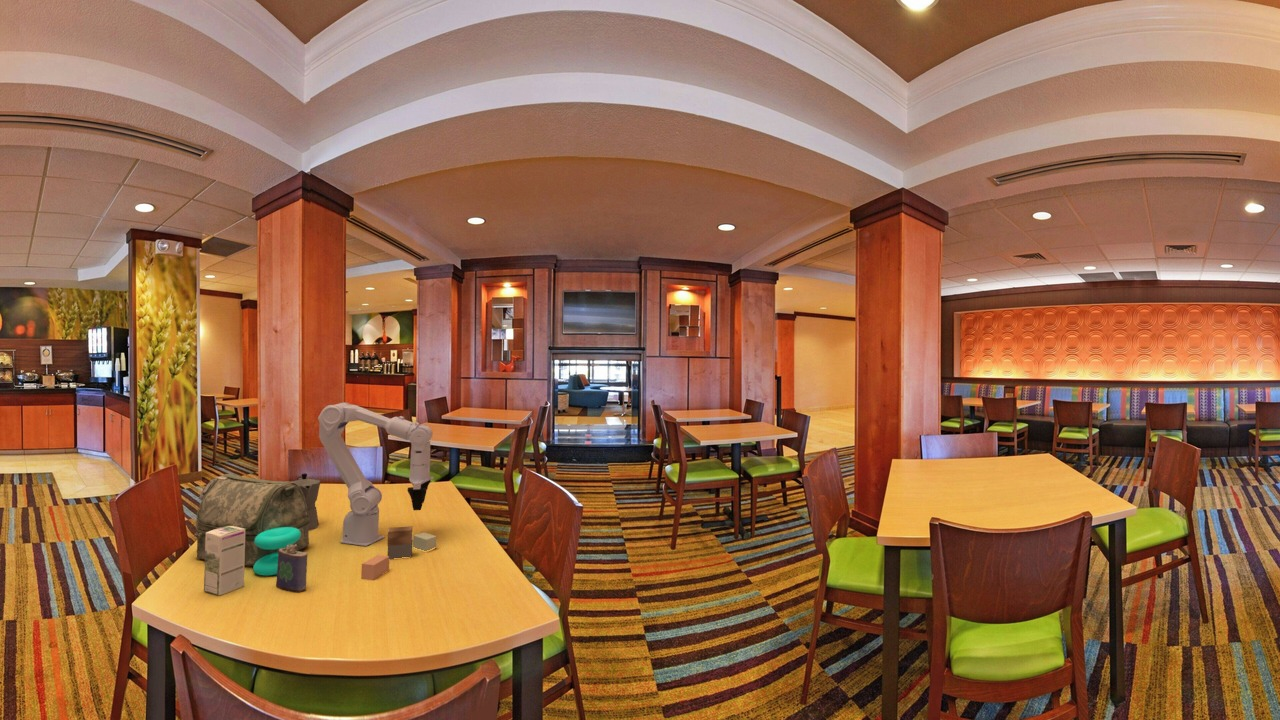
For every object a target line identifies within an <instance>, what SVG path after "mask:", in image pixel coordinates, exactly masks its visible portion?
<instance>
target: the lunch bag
mask: <svg viewBox="0 0 1280 720" xmlns="http://www.w3.org/2000/svg"><path fill="white" fill-rule="evenodd" d="M198 499H199V500H201V502H200V504H199V505H198V508H197V512H196V523H195V533H194V536H196V543H197V545H196V558H197V559H200V560H204V561H205V537H206V532H209V531H211V530H214V529H218V528H221V527H225V526H235V527H240V528H244V529H245V565H244V566H254V564H255V563H256V562H257V561H258V560H259V559H260V558H262V557H264V556H266V555H269V554H272V553H277V552H278V550H279V549H281V548H279V549H262V548H259V547H257V546H256V545H255V543H254V540H255V538H256V536H257V535H258V534H260V533H262V532H264V531H266V530H270V529H274V528H281V527H293V528H297V529H299V530H300V532H301V536H300V538H299V540H298V541H297V542H295V543H294V544H292V545H295V544H296V545H297V546H296V547H295V548H296V549H295V551H299V552H300V551H302V550H303V549H304V548H307V547H308V546H309V545H310V537H309V534H310V533H309V531H310V530H309V522H310V518H309V514H308V510H307V504H306V500H305V497H304V494H303V492H302V490H301V488H300V487H299V486H298V485H297V484H296V483H295V482H292V481H287V480H286V481H278V480H266V479H261V478H251V477H242V476H240V475H238V474H235V473H226V474H223V475H220V476H216V477H214V478H213V479H211V480H210V481H209V482H208V484H205V485H204V487H203V489H202V491H201V493H200V495H199V498H198ZM284 548H286V547H284ZM288 548H289V547H288Z"/></svg>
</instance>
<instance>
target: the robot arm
mask: <svg viewBox="0 0 1280 720" xmlns="http://www.w3.org/2000/svg"><path fill="white" fill-rule="evenodd" d="M317 420H318V422H319V427H318V430H319V431H318V438H319V441H320V442H321V445H322V446H323V448H324V450H325V451H326V453H327V455H328V456H329V458H330V460H331V462H332V463H333V465H334V466H335V469H337V471H338V474H339V475H340V477H341V480H343V483H344V484H345V485H346V487H347V498H348V500H349V503H350V505H349V506H350V507H349V508H350V510H351V511H349V512H347V514H346V515H345V516H344V517H343V521H342V540H340V541H339V542H340V543H341V544H347V545H355V546H362V547H367V546H369V545H371V544H375V543H376V542H378V541H381V540H382V539H384V538H385V535H382V534H381V535H380V534H379V518H380V508H379V504H380V502H381V501H382V498H383V495H382V494H383V493H382V491H381V490H380V489H379V488H378V487H375V485H374V484H373V483H372V481H370V480H368V479H367V478H366V477H365V475H364V473H363V472H362V470H361V468H360V466H359V464H358V462H357V461H356V459H355V458H354V456H353V454H352V453H351V451H350V449H349V448H348V445H347V444H346V442H345V440H344V438H343V437H342V434H343V432H344V430H345V428H346V425H347V424H349V423H350V422H356V421H357V422H358V421H360V422H363V423H366V424H369V425H373V426H376V427H379V428H383V429H385V431H386V433H387V434H389V435H392V436H393V437H396V438H397V437H398V438H399V439H403V440H405V441H409V442H410V444H411V447H410V448H411V449H410V462H409V463H410V465H409V468H410V469H409V478H408V479H409V480H408V481H409V482H410V483H411V485H412V487H411V486H410V487H407V492H408V494H409V497H410V499H411V504H412V510H413V511H421V510H422V507H423V504H424V503H425V500H426V495H427V490H428V489H429V488H428V487H429V486H430V483H431V481H433V480H434V476H432V475H431V476H430V473H431V439H432V438H433V429H432V428H431V427H430V426H428V425H427V424H424V423H423V424H420V423H419V422H417V421H416V422H413V421H410V420H407V419H405V416H402V415H400V416H394V417H392V418H390V417H386V416H384V415H381V414H379V413H376V412H375V411H372V410H369V409H367V408H365V407H361V406H360V405H356V404H350V403H349V402H339V403H336V404H329V405H326V406H325V407H324V408H322V410H321V412H320V414H319V415H318V417H317Z"/></svg>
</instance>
